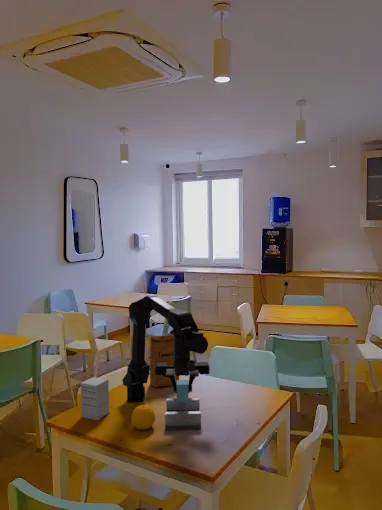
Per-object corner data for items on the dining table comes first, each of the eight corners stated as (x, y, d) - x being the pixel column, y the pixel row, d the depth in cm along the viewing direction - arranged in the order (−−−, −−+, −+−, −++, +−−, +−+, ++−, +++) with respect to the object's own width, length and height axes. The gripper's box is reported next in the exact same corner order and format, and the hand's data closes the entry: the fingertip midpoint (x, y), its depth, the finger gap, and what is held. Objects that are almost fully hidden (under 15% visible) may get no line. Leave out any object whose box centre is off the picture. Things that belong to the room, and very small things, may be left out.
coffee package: (181, 386, 186) (180, 336, 185) (152, 389, 182) (151, 338, 182) (175, 379, 195) (175, 331, 194) (148, 382, 192) (147, 333, 191)
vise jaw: (166, 410, 156) (166, 390, 155) (167, 403, 162) (166, 384, 161) (199, 409, 156) (199, 389, 156) (198, 403, 162) (198, 384, 162)
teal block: (176, 396, 152) (176, 379, 151) (188, 396, 152) (188, 379, 152) (176, 402, 147) (176, 384, 146) (188, 401, 147) (188, 384, 147)
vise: (165, 430, 143) (165, 415, 143) (167, 409, 161) (166, 396, 161) (201, 429, 143) (201, 414, 143) (198, 408, 161) (198, 395, 161)
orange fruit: (151, 421, 150) (151, 399, 150) (158, 430, 143) (157, 407, 143) (129, 424, 148) (129, 403, 148) (134, 434, 140) (134, 411, 140)
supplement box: (93, 410, 161) (93, 376, 161) (109, 413, 158) (109, 379, 157) (80, 417, 154) (79, 382, 154) (97, 420, 151) (96, 385, 151)
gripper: (153, 354, 140) (154, 401, 141) (210, 354, 141) (210, 400, 141) (155, 346, 151) (156, 390, 152) (208, 345, 152) (208, 389, 152)
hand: (182, 392), depth 149 cm, fingers closed on teal block, 4 cm apart
